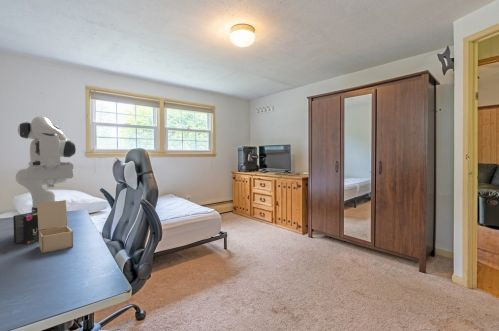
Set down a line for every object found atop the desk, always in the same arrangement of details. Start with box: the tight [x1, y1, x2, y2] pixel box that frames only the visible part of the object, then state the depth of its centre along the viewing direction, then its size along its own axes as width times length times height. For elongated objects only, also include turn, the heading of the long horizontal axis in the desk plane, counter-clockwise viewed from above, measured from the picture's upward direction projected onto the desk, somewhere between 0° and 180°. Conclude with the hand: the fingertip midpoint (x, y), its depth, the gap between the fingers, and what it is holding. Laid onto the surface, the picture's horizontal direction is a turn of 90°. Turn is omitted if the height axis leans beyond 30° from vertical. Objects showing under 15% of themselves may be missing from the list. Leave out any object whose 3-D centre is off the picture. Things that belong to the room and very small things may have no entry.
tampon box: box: [13, 211, 46, 245], centre depth 133 cm, size 11×9×15 cm
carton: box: [38, 225, 74, 254], centre depth 123 cm, size 14×12×8 cm
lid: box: [37, 199, 68, 230], centre depth 130 cm, size 14×12×1 cm
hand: (50, 187), depth 133 cm, fingers closed
